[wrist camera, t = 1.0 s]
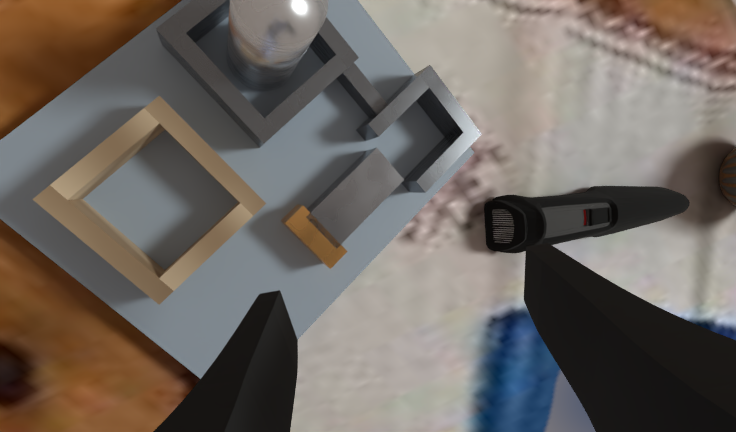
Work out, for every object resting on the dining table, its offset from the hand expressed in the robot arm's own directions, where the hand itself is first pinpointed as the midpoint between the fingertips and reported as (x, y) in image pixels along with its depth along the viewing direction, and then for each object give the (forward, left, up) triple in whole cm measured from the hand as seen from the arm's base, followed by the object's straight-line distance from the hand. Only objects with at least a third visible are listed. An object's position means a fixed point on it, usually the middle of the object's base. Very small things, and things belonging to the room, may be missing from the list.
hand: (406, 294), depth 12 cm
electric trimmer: (+14, -11, -12) cm, 22 cm away
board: (+1, +5, -11) cm, 13 cm away
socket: (+6, +5, -10) cm, 13 cm away
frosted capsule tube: (+4, +9, -10) cm, 14 cm away
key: (+3, +1, -10) cm, 11 cm away
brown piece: (-4, +7, -10) cm, 13 cm away
